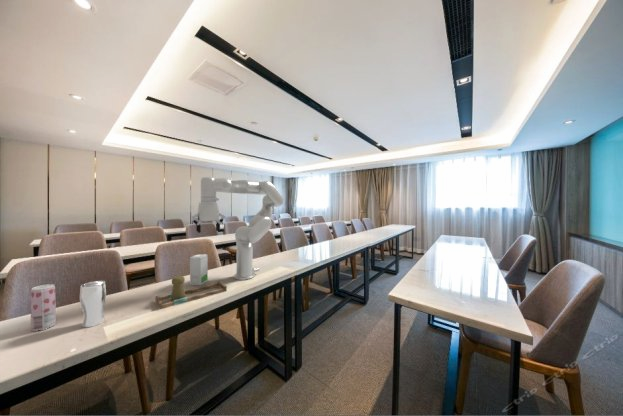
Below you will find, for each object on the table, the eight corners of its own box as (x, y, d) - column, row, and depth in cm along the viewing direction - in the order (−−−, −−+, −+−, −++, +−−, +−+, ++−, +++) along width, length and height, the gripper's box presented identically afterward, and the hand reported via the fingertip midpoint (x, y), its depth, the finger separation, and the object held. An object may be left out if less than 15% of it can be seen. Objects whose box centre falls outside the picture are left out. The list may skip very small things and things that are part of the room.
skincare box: (200, 285, 119) (200, 257, 119) (188, 285, 119) (188, 257, 119) (208, 280, 128) (208, 254, 127) (197, 279, 128) (197, 253, 127)
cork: (169, 299, 102) (169, 276, 101) (183, 295, 106) (183, 273, 106) (172, 303, 97) (172, 279, 97) (187, 299, 102) (187, 276, 102)
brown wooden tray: (218, 285, 120) (219, 281, 120) (226, 291, 112) (226, 286, 112) (155, 301, 100) (155, 296, 100) (159, 309, 92) (159, 303, 92)
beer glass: (83, 330, 77) (82, 288, 76) (77, 324, 80) (77, 284, 80) (109, 321, 83) (108, 282, 82) (102, 316, 86) (102, 279, 86)
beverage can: (53, 321, 82) (53, 282, 82) (57, 325, 79) (57, 285, 79) (29, 328, 77) (28, 287, 77) (32, 333, 74) (32, 291, 74)
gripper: (221, 200, 125) (221, 229, 126) (188, 200, 113) (188, 232, 114) (227, 200, 120) (227, 231, 120) (192, 199, 108) (193, 233, 108)
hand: (208, 231), depth 117 cm, fingers open, 9 cm apart
